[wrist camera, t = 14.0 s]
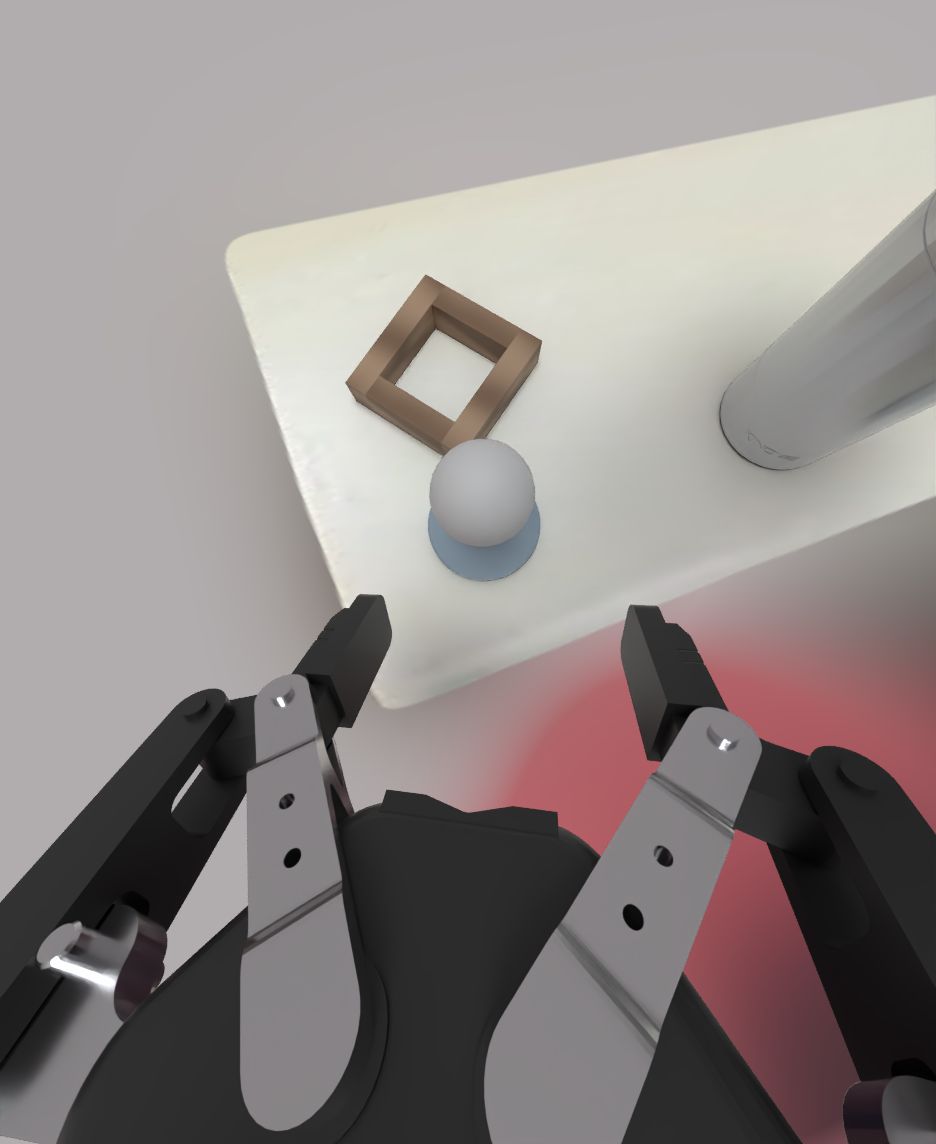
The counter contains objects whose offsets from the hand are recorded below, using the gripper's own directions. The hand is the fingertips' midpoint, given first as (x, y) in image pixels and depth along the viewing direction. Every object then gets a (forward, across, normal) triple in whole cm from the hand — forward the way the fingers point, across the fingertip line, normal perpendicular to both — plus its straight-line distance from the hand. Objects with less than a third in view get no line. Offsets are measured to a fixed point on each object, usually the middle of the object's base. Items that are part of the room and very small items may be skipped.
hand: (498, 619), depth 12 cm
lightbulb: (+17, +3, +5) cm, 18 cm away
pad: (+18, +3, +5) cm, 19 cm away
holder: (+26, +7, -5) cm, 27 cm away
